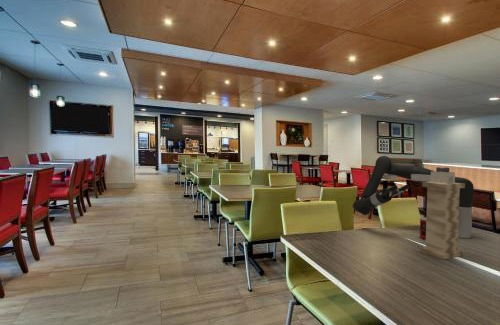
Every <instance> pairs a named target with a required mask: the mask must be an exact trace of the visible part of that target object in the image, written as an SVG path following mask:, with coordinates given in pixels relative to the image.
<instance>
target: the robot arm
mask: <svg viewBox="0 0 500 325" xmlns="http://www.w3.org/2000/svg"><path fill="white" fill-rule="evenodd" d="M435 171H436V170H435ZM435 171H434V170H432V169H429V168H425V167H422V166H417V165H402V164H396V163H393V162H392V160H391V158H390V157H389V156H386V155H381V156H379V157H378V158H376V160H375V164H374V168H373V170H372V173H371V176H370V178H369V179H368V181H367V183H366V185H365V187H364V188H363V190H362V193H361V198H358V199H356V200H354V202H353V204H352V208H353V210H355V211H356V212H358V213H359V214H361V215H364V216H367V215H369V214H370V213H371V211H372V209H375V208H377V207H379V206H382V205H385V204H386V203H388V202H390V201H392V199H393V197H395V196H399V195H401V194H404V193H406V192H407V190H409V189H410V186H409V184H405V185H403V186H401V187H398V185H397V184H394V185H392V186H391V187H385V188H382V189H380V190H378V189H379V187H380V184H381V181H382V179H383V177H384V175H385V174H386V175H392V176H397V177H400V178H404V179H407V180H410V181H413V182H416V183H420V184H423V182H426V181H416V180H411V174H421V175H431V172H435ZM455 183H464V184H465V188H460V195H459V225H458V239H471V238H472V233H473V232H472V231H473V230H472V229H473V226H472V225H473V220H472V215H473V202H474V183H473V182H472V181H471V180H469V178H466V177H459V176H455Z"/></svg>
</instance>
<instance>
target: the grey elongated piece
mask: <svg viewBox="0 0 500 325" xmlns="http://www.w3.org/2000/svg"><path fill="white" fill-rule="evenodd" d="M450 170H451V169H450V167H444V166H443V167H442V166H441V167H439V166H438V167H436V168H435V172H431V175H421V174H411V180H410V181H413V180H416V181H426V182H434V183H444V184H451V183H455V177H456V172H455V171H453V172H452V171H450ZM416 181H415V182H416Z"/></svg>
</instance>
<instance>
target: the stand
mask: <svg viewBox="0 0 500 325" xmlns="http://www.w3.org/2000/svg"><path fill="white" fill-rule="evenodd" d="M421 185H422V186H421V187H425V188H427V189H426V191H427V192H426V240H425V246H422V247H420V249H419V250H420V253H422V254H425V255H427V256H430V255H431V257H433V258H437V259H439V260H442V261H443V260H444V261H445V260H448V259H452V258H458V257H463V256H464V252H463V250H459V237H458V225H459V195H460V188H465V184H464V183H451V184H444V183H434V182H423V183H421Z"/></svg>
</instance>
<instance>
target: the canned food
mask: <svg viewBox="0 0 500 325" xmlns="http://www.w3.org/2000/svg"><path fill="white" fill-rule="evenodd" d="M426 217H427V216H426ZM426 217H420V218H419V219H420V220H419V238H420V240H424V241H426Z"/></svg>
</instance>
